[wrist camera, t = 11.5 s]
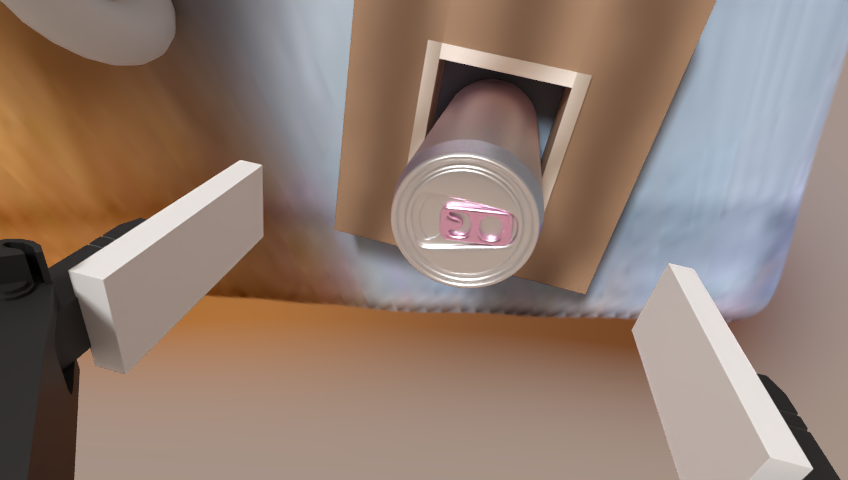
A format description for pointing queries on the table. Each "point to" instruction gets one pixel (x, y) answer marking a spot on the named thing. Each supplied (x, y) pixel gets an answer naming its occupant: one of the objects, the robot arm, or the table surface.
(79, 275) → the robot arm
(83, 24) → the donut
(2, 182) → the table surface
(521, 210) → the beverage can
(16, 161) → the table surface
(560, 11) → the board
